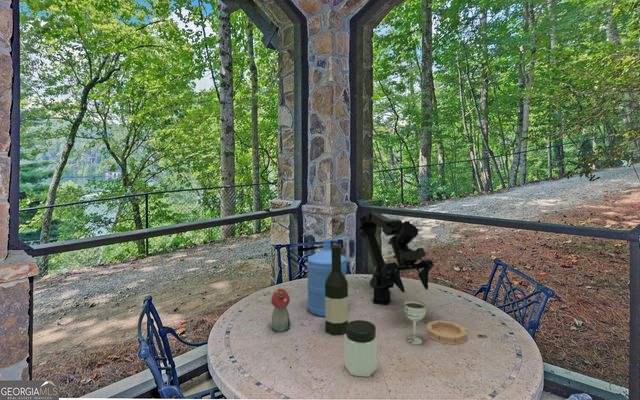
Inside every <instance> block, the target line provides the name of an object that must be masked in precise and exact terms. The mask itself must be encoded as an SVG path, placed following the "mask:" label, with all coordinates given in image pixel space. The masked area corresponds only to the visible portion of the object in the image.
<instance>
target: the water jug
mask: <svg viewBox="0 0 640 400" xmlns="http://www.w3.org/2000/svg"><path fill="white" fill-rule="evenodd" d="M306 266H307V268H306V269H307V310H308V312H310V313H311V314H313V315H315V316H318V317H325V281H326V279H327V278H328V276H329V274H330V273H331V271H332V244H331V239H323V240H322V250H320V251H317V252H316V253H314V254H312V255H309V256H308V258H307V265H306ZM347 266H348V265H347V258H346V257H345V255H342V254H341V272H342V273H343V275H344V277H345V278H346V276H347Z"/></svg>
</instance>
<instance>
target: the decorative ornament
mask: <svg viewBox="0 0 640 400" xmlns="http://www.w3.org/2000/svg"><path fill="white" fill-rule="evenodd" d="M270 300H271V301H270V303H271V305H272V306H273V307H274V308H273V310H272V314H271V327H272V330H274V331H275V332H278V333H279V332H281V333H282V332H287V331H288V330H289V329H290V328H291V319H290V315H289V310H288V307H287V306H288V305H289V303H290V302H291V299H290V295H289V293H288V292H287V290H285V289H284V288H278V289H277V290H275V291H274V292H273V294H272V297H271V299H270Z"/></svg>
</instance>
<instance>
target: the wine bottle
mask: <svg viewBox="0 0 640 400" xmlns="http://www.w3.org/2000/svg"><path fill="white" fill-rule="evenodd" d="M331 250H332V271H331V273H330V274H329V276H328V278H327V279H326V281H325V316H324V317H325V318H324V322H325V326H324V327H325V328H324V329H325V330H324V331H325V333H327V334H328V335H332V336H344V335H345V334H346V325H347V324H348V323H349V289H348V288H349V284H348V280H347V278H346V276H345V277H344V275H343V273H342V272H341V255H342V247H341V246H340V244H339V243H332V245H331Z"/></svg>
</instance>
